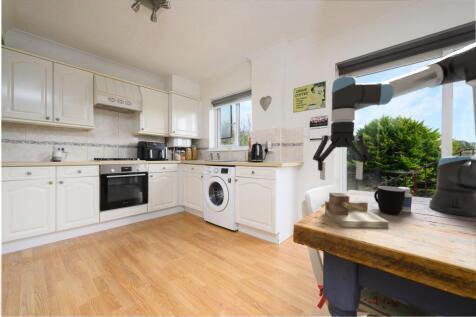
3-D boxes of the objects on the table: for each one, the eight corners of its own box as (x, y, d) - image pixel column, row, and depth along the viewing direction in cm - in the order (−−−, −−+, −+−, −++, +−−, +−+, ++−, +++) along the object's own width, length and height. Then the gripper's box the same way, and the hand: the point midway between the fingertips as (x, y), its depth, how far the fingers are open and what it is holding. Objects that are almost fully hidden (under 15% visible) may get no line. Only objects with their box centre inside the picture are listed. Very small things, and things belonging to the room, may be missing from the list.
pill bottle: (414, 212, 83) (416, 189, 82) (401, 212, 83) (402, 189, 82) (403, 208, 88) (405, 186, 87) (391, 208, 88) (392, 186, 87)
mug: (409, 216, 79) (411, 190, 78) (389, 217, 77) (391, 191, 77) (382, 206, 91) (384, 184, 90) (365, 207, 89) (366, 184, 88)
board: (364, 213, 81) (365, 201, 80) (388, 227, 68) (389, 213, 67) (324, 213, 81) (325, 201, 80) (340, 226, 68) (341, 212, 68)
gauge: (341, 210, 78) (342, 192, 78) (357, 221, 68) (358, 201, 67) (328, 210, 79) (329, 192, 78) (342, 221, 68) (343, 200, 67)
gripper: (370, 122, 77) (367, 177, 79) (305, 123, 77) (304, 177, 79) (384, 120, 69) (381, 181, 71) (311, 121, 70) (310, 181, 71)
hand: (340, 179), depth 75 cm, fingers open, 13 cm apart
